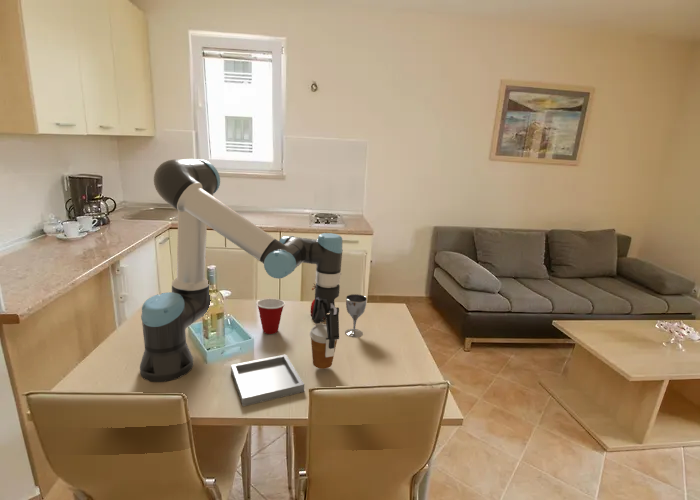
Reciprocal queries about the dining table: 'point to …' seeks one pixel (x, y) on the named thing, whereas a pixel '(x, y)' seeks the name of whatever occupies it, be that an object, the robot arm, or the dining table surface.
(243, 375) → the tray
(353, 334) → the wine glass
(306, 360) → the dining table surface
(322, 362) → the disposable coffee cup
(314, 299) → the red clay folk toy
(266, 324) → the plastic cup
